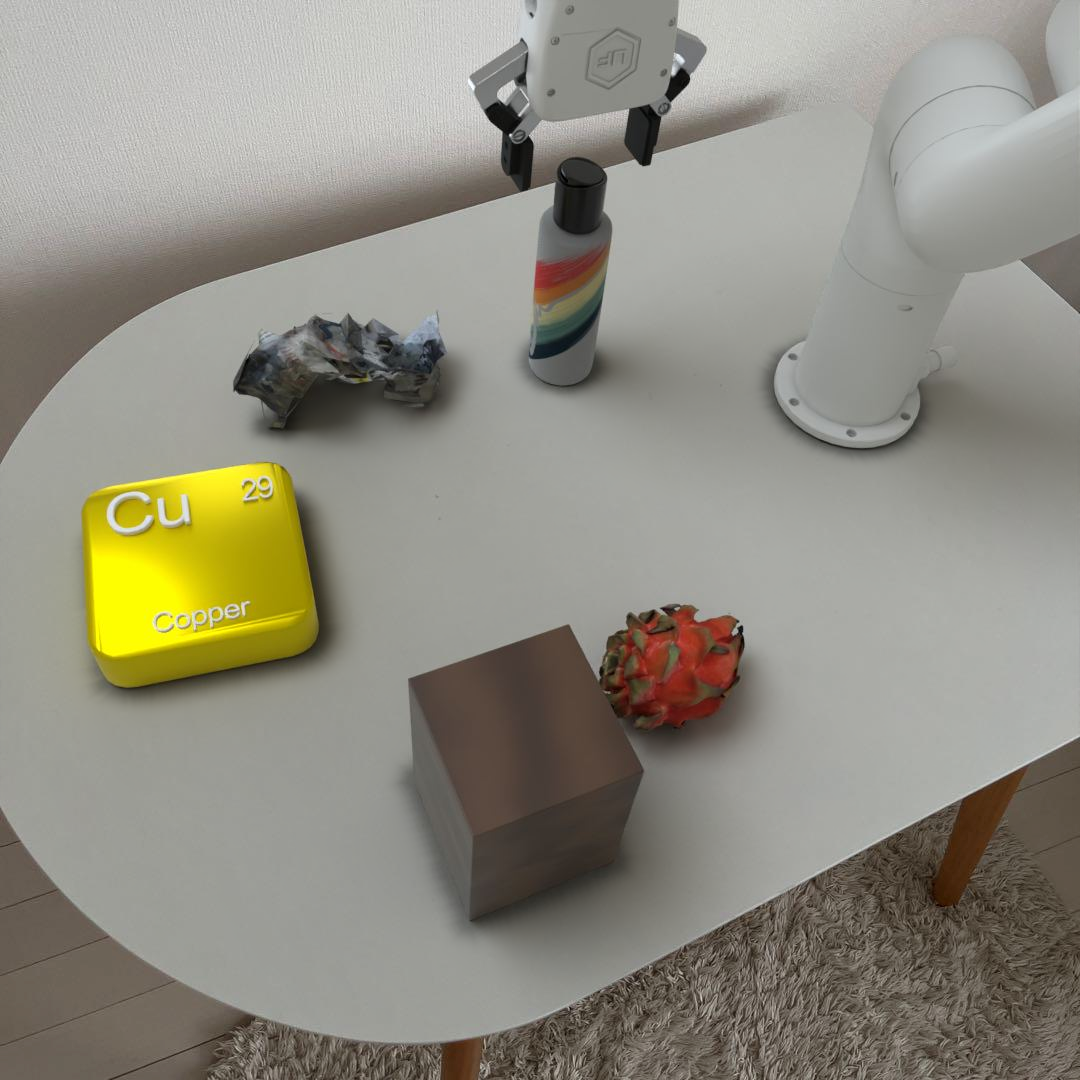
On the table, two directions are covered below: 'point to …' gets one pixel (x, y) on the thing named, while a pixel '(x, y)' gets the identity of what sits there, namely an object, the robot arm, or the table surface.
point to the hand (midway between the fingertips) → (578, 167)
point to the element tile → (196, 574)
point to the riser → (521, 768)
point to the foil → (341, 361)
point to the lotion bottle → (570, 274)
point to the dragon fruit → (671, 666)
